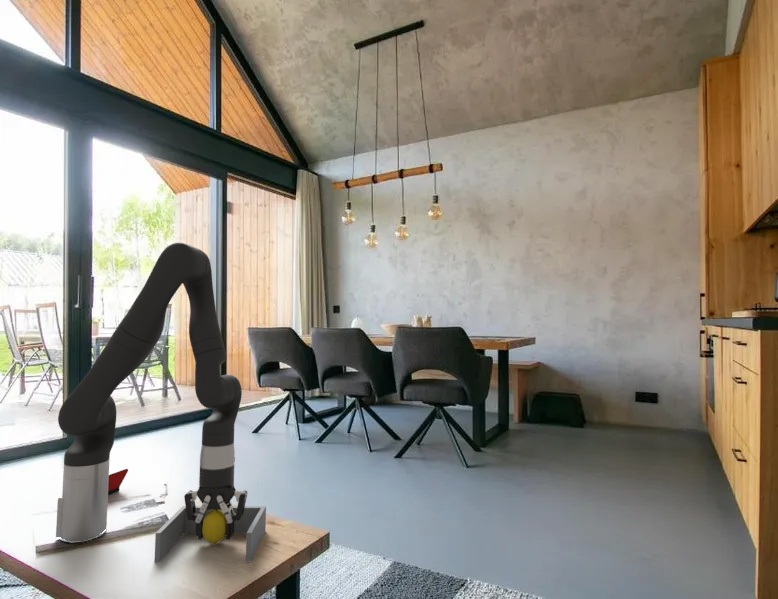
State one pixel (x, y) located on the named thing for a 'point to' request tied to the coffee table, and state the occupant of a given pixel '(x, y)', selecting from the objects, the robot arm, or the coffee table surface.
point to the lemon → (214, 526)
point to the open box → (179, 524)
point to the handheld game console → (116, 481)
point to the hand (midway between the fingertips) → (214, 537)
